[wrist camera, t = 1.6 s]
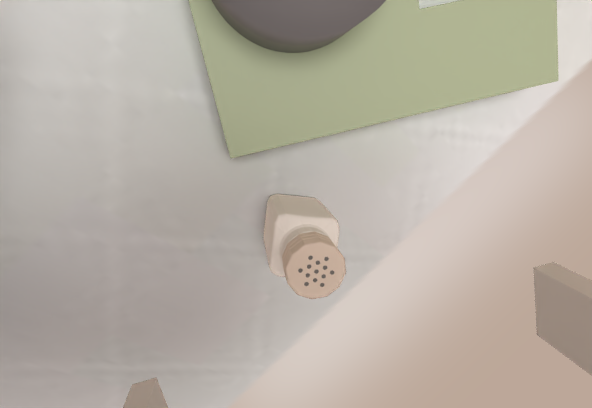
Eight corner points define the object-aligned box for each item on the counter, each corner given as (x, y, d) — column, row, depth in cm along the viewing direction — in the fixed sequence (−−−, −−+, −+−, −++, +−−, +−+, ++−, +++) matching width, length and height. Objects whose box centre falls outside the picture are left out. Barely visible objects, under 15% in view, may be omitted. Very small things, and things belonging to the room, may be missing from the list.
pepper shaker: (261, 242, 28) (273, 304, 19) (267, 191, 27) (283, 231, 18) (312, 246, 29) (347, 308, 20) (320, 196, 28) (360, 237, 19)
